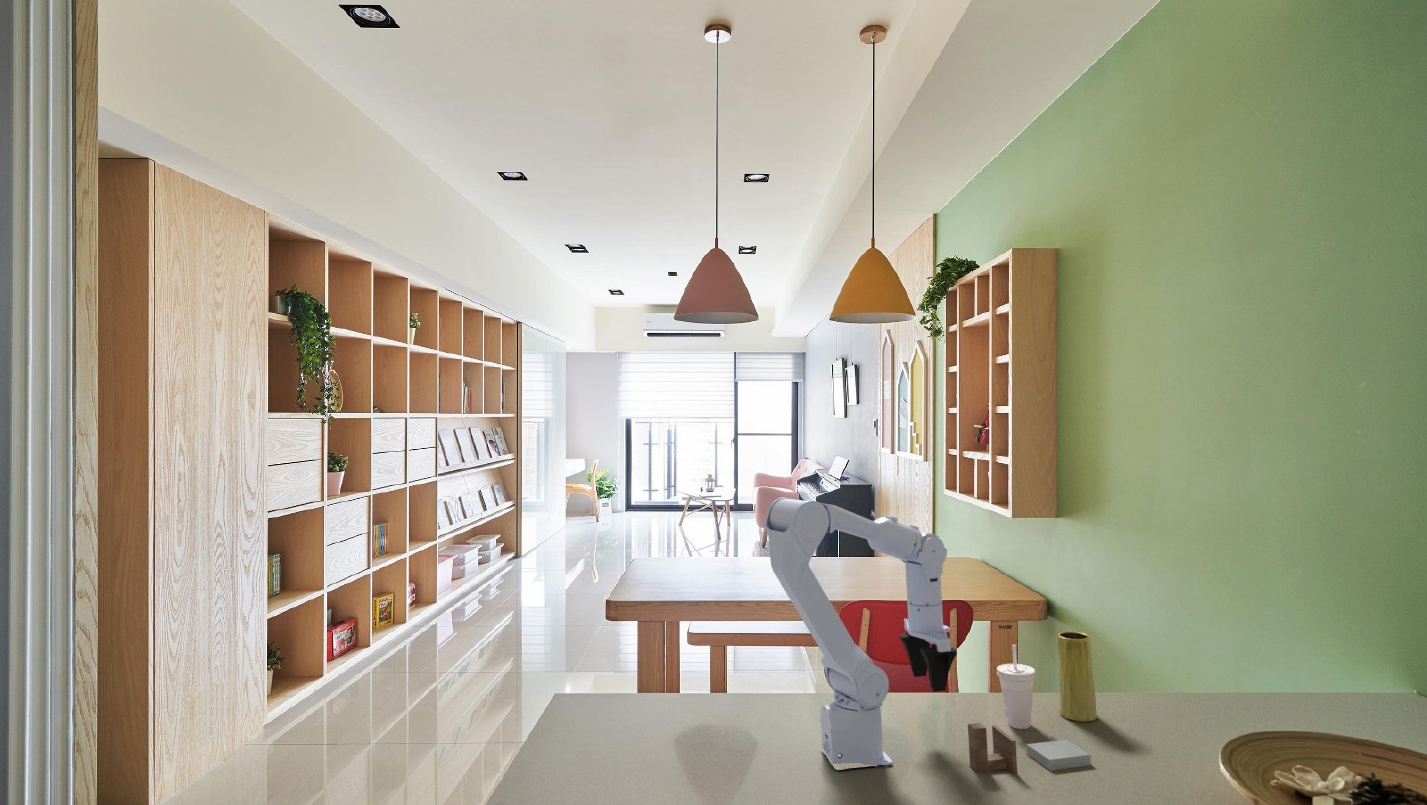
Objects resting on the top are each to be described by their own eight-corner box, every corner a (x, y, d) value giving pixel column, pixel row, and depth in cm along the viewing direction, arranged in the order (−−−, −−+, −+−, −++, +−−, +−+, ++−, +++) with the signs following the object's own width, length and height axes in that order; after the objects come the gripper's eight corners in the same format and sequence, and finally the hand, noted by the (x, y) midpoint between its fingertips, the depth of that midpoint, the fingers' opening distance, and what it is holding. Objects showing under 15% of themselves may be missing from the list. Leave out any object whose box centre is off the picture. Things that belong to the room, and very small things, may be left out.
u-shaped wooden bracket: (982, 777, 114) (980, 733, 114) (964, 760, 120) (961, 719, 120) (1017, 773, 115) (1014, 730, 115) (997, 756, 121) (994, 715, 121)
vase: (1062, 721, 134) (1057, 639, 134) (1057, 708, 140) (1052, 630, 140) (1100, 723, 132) (1095, 640, 133) (1094, 710, 138) (1089, 631, 139)
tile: (1049, 759, 116) (1090, 754, 117) (1026, 744, 122) (1066, 739, 123) (1050, 773, 116) (1091, 767, 117) (1027, 756, 122) (1066, 751, 123)
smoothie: (997, 728, 132) (992, 647, 132) (1002, 715, 138) (997, 637, 138) (1037, 734, 129) (1032, 650, 129) (1040, 720, 135) (1035, 640, 135)
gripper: (966, 610, 123) (971, 695, 123) (928, 591, 137) (933, 667, 137) (925, 613, 122) (930, 699, 122) (891, 594, 136) (895, 671, 136)
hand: (929, 682), depth 129 cm, fingers open, 7 cm apart
